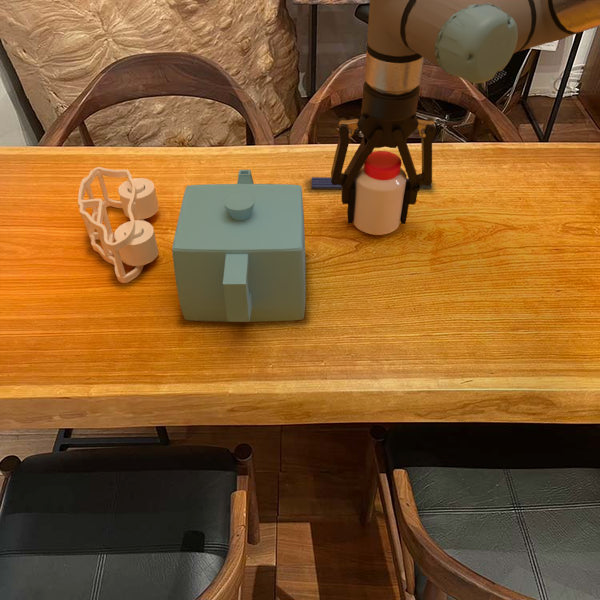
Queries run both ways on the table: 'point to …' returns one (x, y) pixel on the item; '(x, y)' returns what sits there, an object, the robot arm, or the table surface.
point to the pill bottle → (379, 194)
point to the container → (241, 252)
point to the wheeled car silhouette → (129, 236)
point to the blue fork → (326, 184)
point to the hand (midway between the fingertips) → (376, 218)
